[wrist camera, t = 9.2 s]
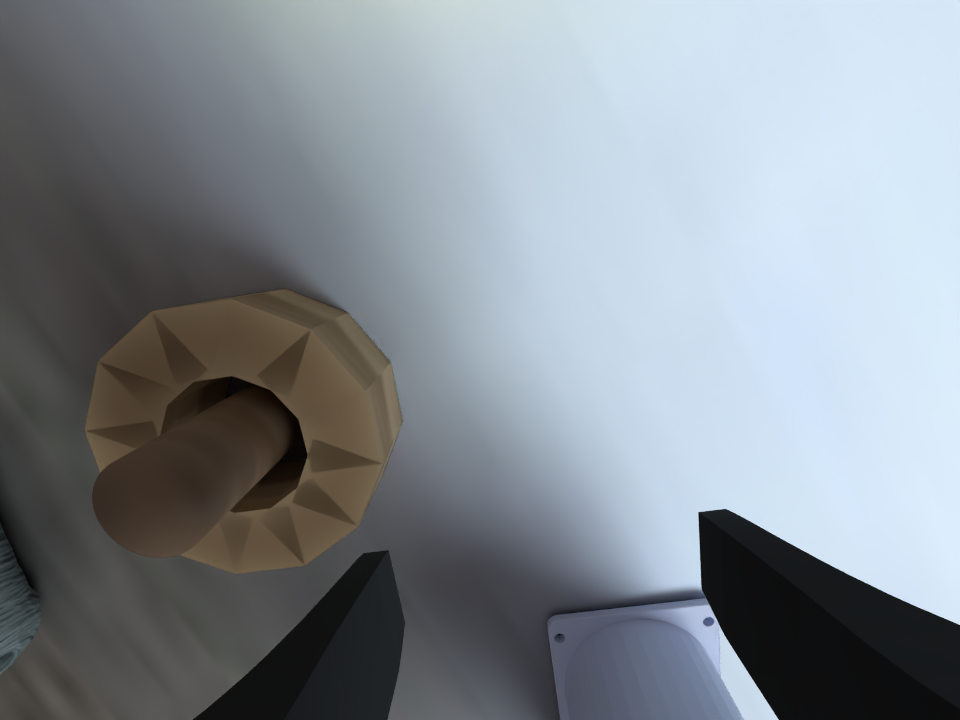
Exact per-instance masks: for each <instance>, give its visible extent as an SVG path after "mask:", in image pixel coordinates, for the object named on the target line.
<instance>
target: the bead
mask: <svg viewBox="0 0 960 720" xmlns="http://www.w3.org/2000/svg"><path fill="white" fill-rule="evenodd" d="M231 376H234V377H236V378H239V379H242V380H245V381H247V382H250V383H253V384H256V385H258V386H261V387H264V388H266V389H269V390H271V391H272V392H273V393H274V394H275V395H276V396H277V397H278V398H279V399H280V400H281V401H282V402H283V404H284V405H285V406H286V407H287V408H288V409H289V410H290V411H291V412H292V413H293V414H294V415H295V416H296V417H297V418H298V420H299V423H300V427H301V431H302V435H303V439H304V442H305V446H306V450H307V454H308V457H307V459H306V460H299V461H291V462H284V463H283V462H281V461H278V462H277V463H276V464H275V465H274V466H273V467H272V468H271V469H270V470H269V471H268V472H267V473H266V474H265V475H264V476H263V478H262V479H261V480H260V481H259V482H258V483H257V484H256V485H255V486H254V487H253V488H252V489H251V490H250V491H249V492H248V493H247V494H246V495H245V496H244V497H243V498H242V499H241V500H240V501H239V502H238V503H237V504H236V505H235V506H234V507H233V508H232V509H231V510H230V511H229V512H228V513H227V514H226V515H225V516H224V517H223V518H222V519H221V520H220V521H219V522H218V523H217V524H216V525H215V526H214V527H213V528H212V529H211V530H210V531H209V532H208V533H207V534H206V535H205V536H204V537H203V538H202V539H201V540H200V541H199V542H198V543H197V544H196V545H195V546H194V547H193V548H191V549H190V550H188V551H187V552H185V553H182V554H180V556H183V557H186V558H189V559H192V560H195V561H198V562H201V563H204V564H207V565H210V566H213V567H216V568H219V569H222V570H225V571H228V572H231V573H234V574H241V573H249V572H257V571H265V570H274V569H282V568H290V567H298V566H305V565H307V564H308V563H310V562H311V561H312V560H314V559H315V558H316V557H318V556H319V555H320V554H322V553H323V552H324V551H326V550H327V549H329V548H330V547H331V546H333V545H334V544H335V543H337V542H338V541H339V540H341V539H342V538H343V537H345V536H346V535H348V534H349V533H350V532H352V531H353V530H354V529H356V528H357V527H358V526H359V524H360V522H361V520H362V518H363V516H364V513H365V511H366V509H367V507H368V505H369V503H370V501H371V499H372V496H373V494H374V492H375V490H376V488H377V486H378V484H379V481H380V479H381V477H382V475H383V473H384V470H385V467H386V465H387V462H388V459H389V457H390V454H391V451H392V449H393V446H394V443H395V441H396V438H397V435H398V433H399V430H400V427H401V425H402V422H403V420H402V415H401V411H400V406H399V401H398V396H397V391H396V386H395V381H394V376H393V371H392V366H391V362H390V361H389V360H388V359H387V357H386V356H385V355H384V354H383V353H382V352H381V351H380V349H379V348H378V347H377V346H376V345H375V344H374V342H373V341H372V340H371V339H370V338H369V337H368V335H367V334H366V333H365V332H364V331H363V330H362V329H361V327H360V326H359V325H358V324H357V323H356V322H355V320H354V319H353V318H352V317H351V316H350V315H349V314H348V313H347V312H344V311H342V310H339V309H337V308H334V307H331V306H329V305H326V304H324V303H321V302H318V301H316V300H313V299H311V298H308V297H305V296H303V295H300V294H298V293H295V292H292V291H290V290H287V289H281V290H274V291H268V292H261V293H255V294H248V295H242V296H235V297H229V298H222V299H217V300H211V301H205V302H200V303H194V304H189V305H183V306H177V307H172V308H166V309H160V310H155V311H151V312H150V313H149V314H148V315H147V316H146V317H145V318H144V319H142V320H141V321H140V322H139V323H138V324H137V325H136V326H135V327H134V328H133V329H132V330H131V331H130V332H129V333H127V334H126V335H125V336H124V337H123V338H122V339H121V340H120V341H119V342H118V343H117V344H116V345H115V346H113V347H112V348H111V349H110V350H109V351H108V352H107V353H106V354H105V355H104V356H103V357H102V358H101V359H100V360H98V363H97V369H96V374H95V379H94V384H93V389H92V394H91V400H90V405H89V410H88V415H87V420H86V425H85V433H86V436H87V439H88V441H89V444H90V447H91V449H92V452H93V454H94V457H95V460H96V462H97V465H98V468H99V470H100V473H101V472H102V470H103V469H104V468H105V467H106V466H108V465H109V464H111V463H112V462H114V461H116V460H117V459H119V458H121V457H123V456H124V455H126V454H128V453H130V452H132V451H133V450H135V449H137V448H139V447H140V446H142V445H144V444H146V443H148V442H149V441H151V440H153V439H155V438H156V437H158V436H160V435H162V434H164V433H165V432H167V431H169V430H171V429H172V428H174V427H176V426H178V425H180V424H181V423H183V422H185V421H187V420H188V419H190V418H192V417H194V416H196V415H197V414H199V413H201V412H203V411H204V410H206V409H208V408H210V407H212V406H213V405H215V404H217V403H219V402H220V401H222V400H224V399H225V398H226V394H227V391H228V387H229V383H230V380H231Z"/></svg>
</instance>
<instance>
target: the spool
mask: <svg viewBox="0 0 960 720" xmlns="http://www.w3.org/2000/svg"><path fill="white" fill-rule="evenodd" d="M40 625H41V609H40V600H39V594H38V592H36V591H35V590H34V589H32V588H30V587H29V584H28V582H27V580H26V577H25V575H24V572H23V570H22V569H21V567H20V566H19V565H18V563H17V560H16V557H15V555H14V552H13V549H12V547H11V545H10V543H9V541H8V539H7V537H6V536H5V533H4V530H3V528H2V525H1V522H0V675H1V674H2V673H3V672H4V671H5V670H6V669H7V668H8V667H9V666H11V665H12V663H13V662H14V661H15V660H16V659H17V657H18V656H19V655H20V654H21V652H22V651H23V650H24V649H25V647H26V646H27V645H28V644H29V643H30V641H31V640H32V639H33V638H34V636H35V634H36V632H37V631H38V629H39V627H40Z"/></svg>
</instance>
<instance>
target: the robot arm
mask: <svg viewBox="0 0 960 720" xmlns="http://www.w3.org/2000/svg"><path fill="white" fill-rule="evenodd" d="M698 513H699V537H700V561H701V585H702V591H703V593H704V595H705V597H706V598H703V599H694V600H685V601H676V602H668V603H659V604H650V605H641V606H632V607H623V608H614V609H606V610H597V611H588V612H579V613H570V614H561V615H555V616H552V617H551V618H549V620H548V621H547V628H548V635H549V642H550V650H551V657H552V664H553V671H554V678H555V686H556V693H557V700H558V707H559V714H560V720H744V719H743V717H742V715H741V713H740V711H739V710H738V708H737V706H736V704H735V702H734V701H733V699H732V697H731V695H730V693H729V691H728V690H727V688H726V686H725V684H724V682H723V680H722V679H721V666H720V635H719V625H720V627H721V629H722V631H723V633H724V635H725V636H726V638H727V640H728V641H729V643H730V645H731V646H732V648H733V649H734V651H735V652H736V654H737V656H738V657H739V659H740V660H741V662H742V663H743V665H744V667H745V668H746V670H747V671H748V673H749V674H750V676H751V677H752V679H753V681H754V682H755V684H756V685H757V687H758V688H759V690H760V691H761V693H762V694H763V696H764V698H765V699H766V701H767V702H768V704H769V705H770V707H771V708H772V710H773V711H774V713H775V715H776V716H777V718H778V719H779V720H960V625H958V624H956V623H954V622H951V621H949V620H947V619H944V618H942V617H939V616H937V615H935V614H932V613H930V612H928V611H925V610H923V609H921V608H918V607H916V606H914V605H911V604H909V603H907V602H905V601H902V600H900V599H898V598H896V597H894V596H891V595H889V594H887V593H885V592H883V591H881V590H879V589H877V588H875V587H873V586H871V585H869V584H867V583H864V582H862V581H860V580H858V579H856V578H854V577H852V576H850V575H848V574H846V573H844V572H842V571H840V570H838V569H836V568H834V567H832V566H831V565H829V564H827V563H825V562H823V561H821V560H819V559H817V558H815V557H813V556H812V555H810V554H808V553H806V552H804V551H802V550H800V549H799V548H797V547H795V546H793V545H791V544H789V543H788V542H786V541H784V540H782V539H780V538H779V537H777V536H775V535H773V534H771V533H770V532H768V531H766V530H764V529H763V528H761V527H759V526H757V525H755V524H753V523H752V522H750V521H748V520H746V519H744V518H743V517H741V516H739V515H737V514H735V513H733V512H731V511H729V510H727V509H722V510H714V511H705V512H698ZM707 617H709V618H708V619H706V620H704V619H705V618H707ZM404 626H405V621H404V617H403V612H402V608H401V603H400V599H399V594H398V590H397V586H396V581H395V577H394V572H393V568H392V564H391V559H390V555H389V550H387V551H379V552H371V553H363V554H362V555H361V556H360V557H359V558H358V559H357V560H356V562H355V563H354V564H353V565H352V566H351V567H350V568H349V569H348V570H347V571H346V573H345V574H344V575H343V576H342V577H341V578H340V579H339V580H338V582H337V583H336V584H335V585H334V586H333V587H332V588H331V589H330V590H329V592H328V593H327V594H326V595H325V596H324V597H323V598H322V599H321V600H320V601H319V602H318V603H317V605H316V606H315V607H314V608H313V609H312V610H311V611H310V612H309V613H308V614H307V615H306V617H305V618H304V619H303V620H302V621H301V622H300V623H299V624H298V625H297V626H296V627H295V628H294V629H293V630H292V631H291V632H290V633H289V634H288V635H287V636H286V637H285V638H284V639H283V640H282V641H281V642H280V643H279V644H278V645H277V646H276V647H275V648H274V649H273V650H272V651H271V652H270V653H269V654H268V655H267V656H266V657H265V658H264V659H263V660H262V661H261V662H259V663H258V664H257V665H256V666H255V667H254V668H253V669H252V670H251V671H250V672H249V673H248V674H246V675H245V676H244V677H243V678H242V679H241V680H240V681H239V682H237V683H236V684H235V685H234V686H233V687H232V688H230V689H229V690H228V691H227V692H226V693H225V694H224V695H222V696H221V697H220V698H219V699H218V700H217V701H215V702H214V703H213V704H212V705H211V706H209V707H208V708H207V709H206V710H205V711H203V712H202V713H201V714H199V715H198V716H197V717H196V718H194V719H193V720H387V719H388V715H389V710H390V706H391V702H392V698H393V694H394V689H395V685H396V681H397V676H398V672H399V666H400V659H401V652H402V643H403V635H404ZM557 634H562V635H560V636H556V635H557Z"/></svg>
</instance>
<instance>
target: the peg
mask: <svg viewBox="0 0 960 720" xmlns="http://www.w3.org/2000/svg"><path fill="white" fill-rule="evenodd" d="M302 437H303V435H302V431H301V427H300V423H299V420H298V418H297V417H296V416H295V415H294V414H293V413H292V412H291V411H290V410H289V409H288V408H287V407H286V406H285V405H284V404H283V402H282V401H281V400H280V399H279V398H278V397H277V396H276V395H275V394H274V393H273V392H272V391H271V390H269V389H266V388H264V387H261V386H258V385H256V384H253V383H252V384H251V385H249V386H247V387H245V388H244V389H242V390H240V391H238V392H236V393H235V394H233V395H231V396H229V397H228V398H226V399H224V400H222V401H220V402H219V403H217V404H215V405H213V406H212V407H210V408H208V409H206V410H204V411H203V412H201V413H199V414H197V415H196V416H194V417H192V418H190V419H188V420H187V421H185V422H183V423H181V424H180V425H178V426H176V427H174V428H172V429H171V430H169V431H167V432H165V433H164V434H162V435H160V436H158V437H156V438H155V439H153V440H151V441H149V442H148V443H146V444H144V445H142V446H140V447H139V448H137V449H135V450H133V451H132V452H130V453H128V454H126V455H124V456H123V457H121V458H119V459H117V460H116V461H114V462H112V463H111V464H109V465H108V466H106V467H105V468H104V469H103V470H102V472H101V473H100V474H99V476H98V478H97V480H96V482H95V485H94V488H93V495H92V496H93V507H94V511H95V514H96V516H97V519H98V521H99V523H100V524H101V526H102V527H103V529H104V530H105V531H106V533H107V534H108V535H109V536H110V537H111V538H112V539H113V540H114V541H116V542H117V543H118V544H120V545H121V546H123V547H124V548H126V549H128V550H130V551H132V552H134V553H137V554H139V555H143V556H147V557H153V558H168V557H173V556H177V555H180V554H182V553H185V552H187V551H188V550H190V549H191V548H193V547H194V546H195V545H196V544H197V543H198V542H199V541H200V540H201V539H202V538H203V537H204V536H205V535H206V534H207V533H208V532H209V531H210V530H211V529H212V528H213V527H214V526H215V525H216V524H217V523H218V522H219V521H220V520H221V519H222V518H223V517H224V516H225V515H226V514H227V513H228V512H229V511H230V510H231V509H232V508H233V507H234V506H235V505H236V504H237V503H238V502H239V501H240V500H241V499H242V498H243V497H244V496H245V495H246V494H247V493H248V492H249V491H250V490H251V489H252V488H253V487H254V486H255V485H256V484H257V483H258V482H259V481H260V480H261V479H262V478H263V476H264V475H265V474H266V473H267V472H268V471H269V470H270V469H271V468H272V467H273V466H274V465H275V464H276V463H277V462H278V461H279V460H280V459H281V458H282V457H283V456H284V455H285V454H286V453H287V452H288V451H289V450H290V449H291V448H292V447H293V446H294V445H295V444H296V443H297V442H298V441H299V440H300V439H301V438H302Z"/></svg>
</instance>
